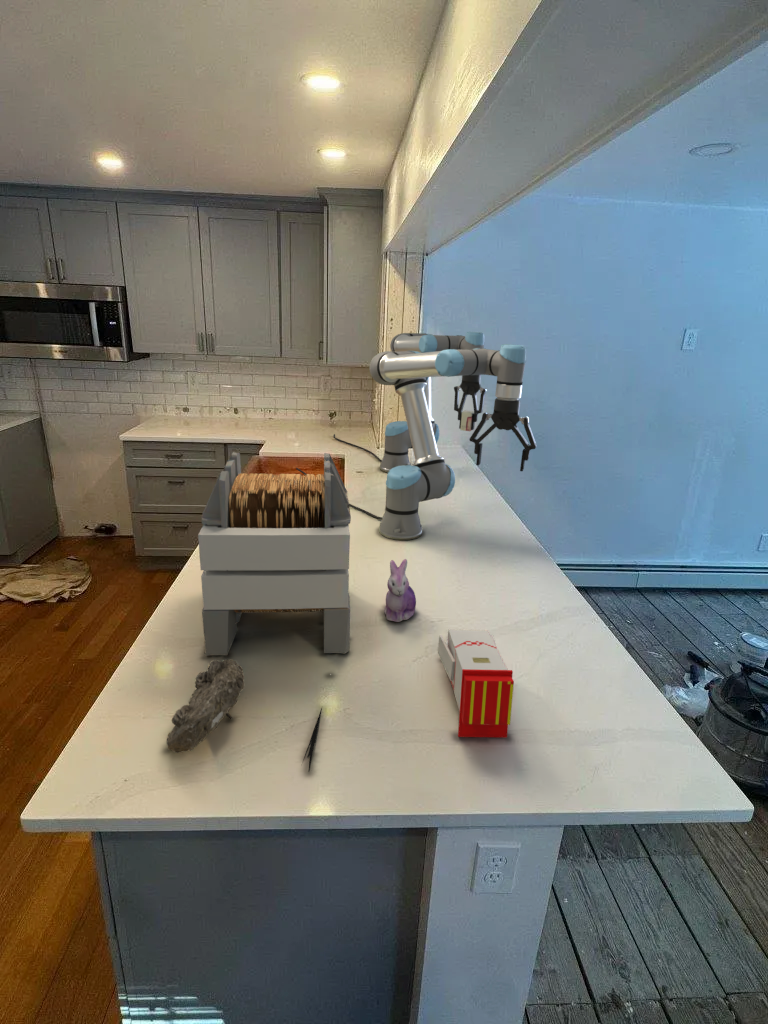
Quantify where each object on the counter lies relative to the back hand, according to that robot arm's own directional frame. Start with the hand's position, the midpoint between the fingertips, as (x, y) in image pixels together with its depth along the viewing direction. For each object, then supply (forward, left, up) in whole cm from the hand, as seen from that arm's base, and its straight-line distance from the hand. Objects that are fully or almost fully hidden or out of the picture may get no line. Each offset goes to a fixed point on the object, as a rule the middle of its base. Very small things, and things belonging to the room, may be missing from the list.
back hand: (466, 428), depth 238 cm
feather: (+84, -129, -29) cm, 157 cm away
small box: (0, 0, -1) cm, 1 cm away
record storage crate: (+47, -116, -29) cm, 128 cm away
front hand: (+51, -40, +1) cm, 65 cm away
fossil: (+71, -145, -29) cm, 164 cm away
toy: (+95, -99, -29) cm, 141 cm away
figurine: (+63, -90, -29) cm, 114 cm away
